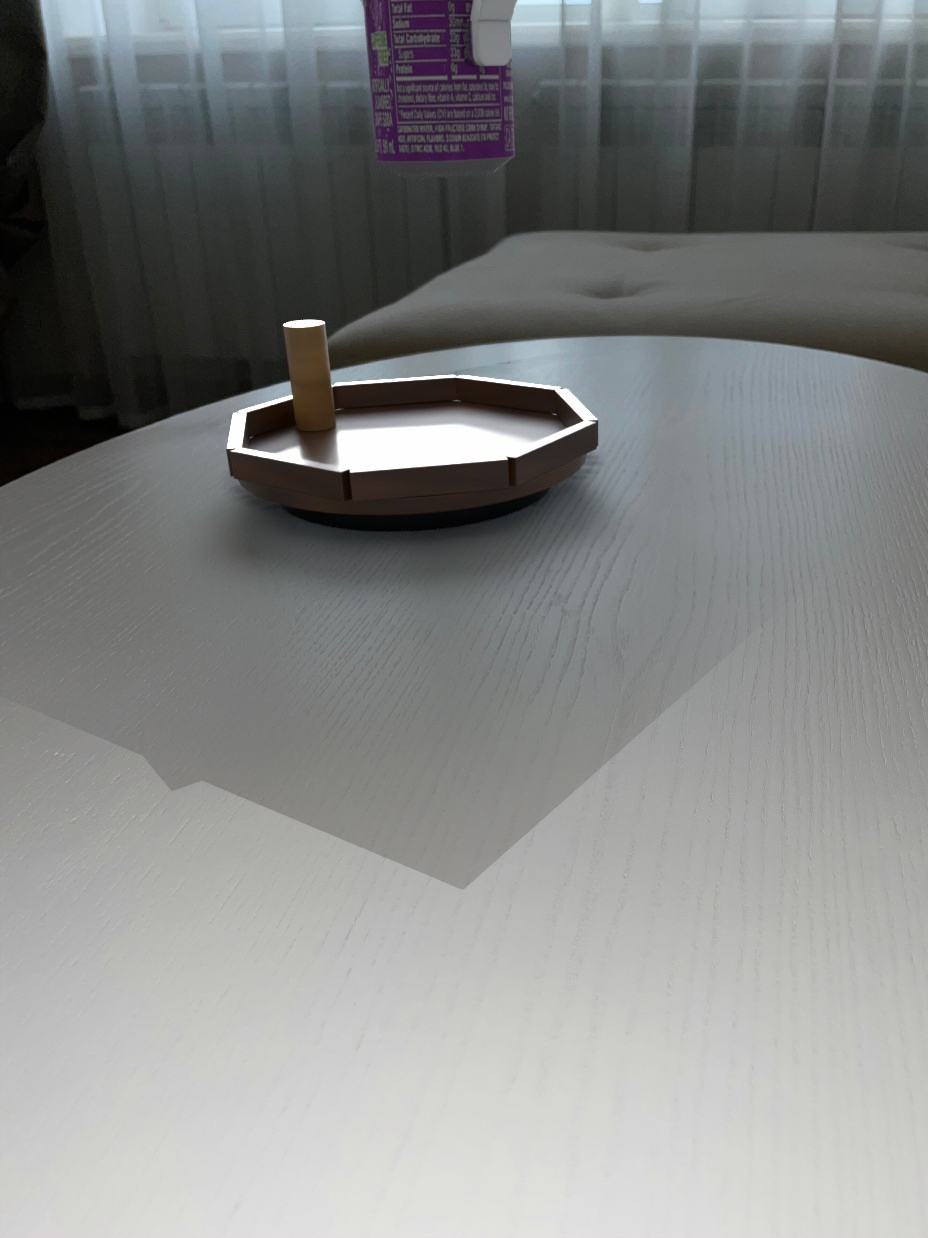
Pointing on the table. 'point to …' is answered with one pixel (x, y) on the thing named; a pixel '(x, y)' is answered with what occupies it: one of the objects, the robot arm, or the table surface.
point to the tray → (403, 439)
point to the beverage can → (434, 93)
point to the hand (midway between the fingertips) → (441, 70)
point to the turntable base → (416, 517)
